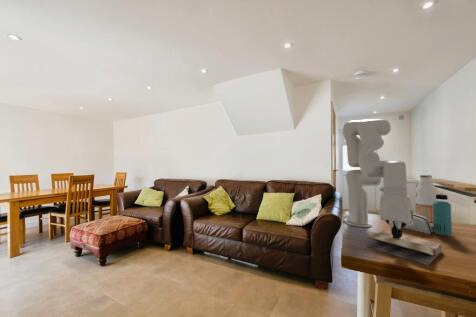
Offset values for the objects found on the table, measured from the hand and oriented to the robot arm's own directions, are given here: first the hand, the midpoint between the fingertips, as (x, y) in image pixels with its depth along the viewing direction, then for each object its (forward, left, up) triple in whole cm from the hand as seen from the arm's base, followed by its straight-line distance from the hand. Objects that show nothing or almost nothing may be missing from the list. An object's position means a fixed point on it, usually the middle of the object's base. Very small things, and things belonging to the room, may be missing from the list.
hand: (396, 237), depth 81 cm
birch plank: (0, +2, -4) cm, 4 cm away
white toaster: (-7, +38, -7) cm, 40 cm away
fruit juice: (-3, +53, -7) cm, 54 cm away
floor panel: (0, +6, -6) cm, 9 cm away
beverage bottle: (+6, +38, -7) cm, 39 cm away
